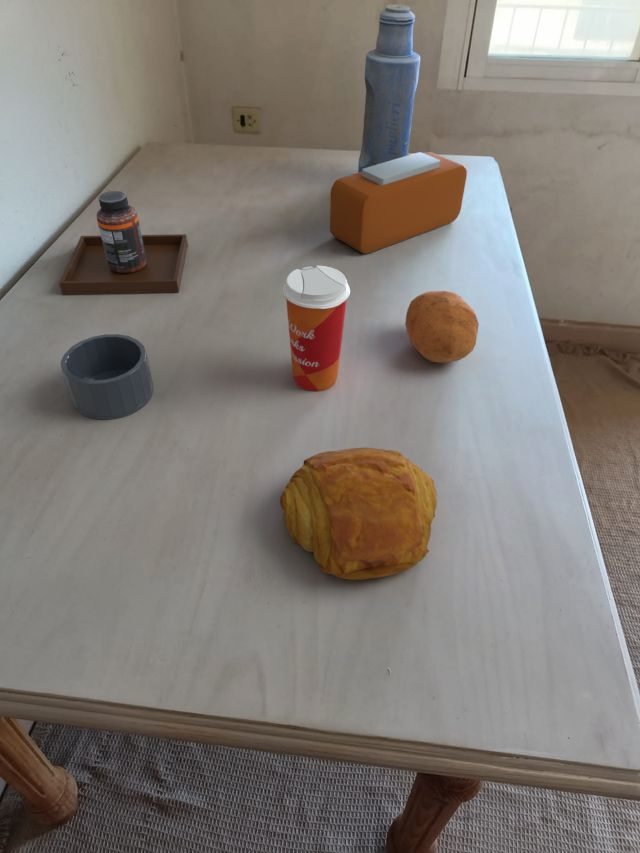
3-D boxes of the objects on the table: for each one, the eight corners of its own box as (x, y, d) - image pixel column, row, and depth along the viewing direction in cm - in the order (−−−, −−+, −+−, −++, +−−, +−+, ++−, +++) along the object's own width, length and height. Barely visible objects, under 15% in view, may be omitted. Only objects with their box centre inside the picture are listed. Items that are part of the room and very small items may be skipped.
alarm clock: (427, 204, 119) (435, 142, 111) (459, 220, 114) (471, 156, 107) (328, 239, 108) (330, 172, 100) (359, 258, 103) (364, 189, 96)
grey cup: (64, 421, 73) (51, 384, 70) (82, 370, 80) (71, 334, 77) (147, 418, 74) (139, 382, 70) (157, 368, 81) (150, 333, 77)
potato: (466, 328, 89) (476, 281, 84) (480, 377, 81) (492, 329, 75) (401, 327, 89) (407, 279, 84) (408, 376, 80) (415, 327, 75)
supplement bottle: (136, 253, 102) (122, 184, 95) (154, 267, 99) (141, 197, 91) (102, 264, 99) (84, 194, 92) (119, 279, 96) (102, 207, 88)
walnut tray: (62, 295, 94) (58, 283, 92) (83, 246, 105) (80, 235, 103) (178, 292, 95) (176, 280, 93) (187, 245, 106) (186, 234, 104)
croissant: (285, 489, 69) (272, 437, 64) (426, 470, 68) (425, 415, 63) (289, 604, 58) (274, 552, 53) (456, 583, 57) (458, 528, 52)
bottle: (352, 175, 129) (361, 1, 108) (399, 172, 130) (416, 0, 110) (363, 194, 122) (375, 12, 102) (412, 191, 123) (433, 11, 103)
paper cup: (277, 366, 82) (273, 269, 72) (332, 354, 84) (335, 258, 74) (297, 403, 76) (295, 303, 67) (355, 389, 78) (362, 291, 69)
